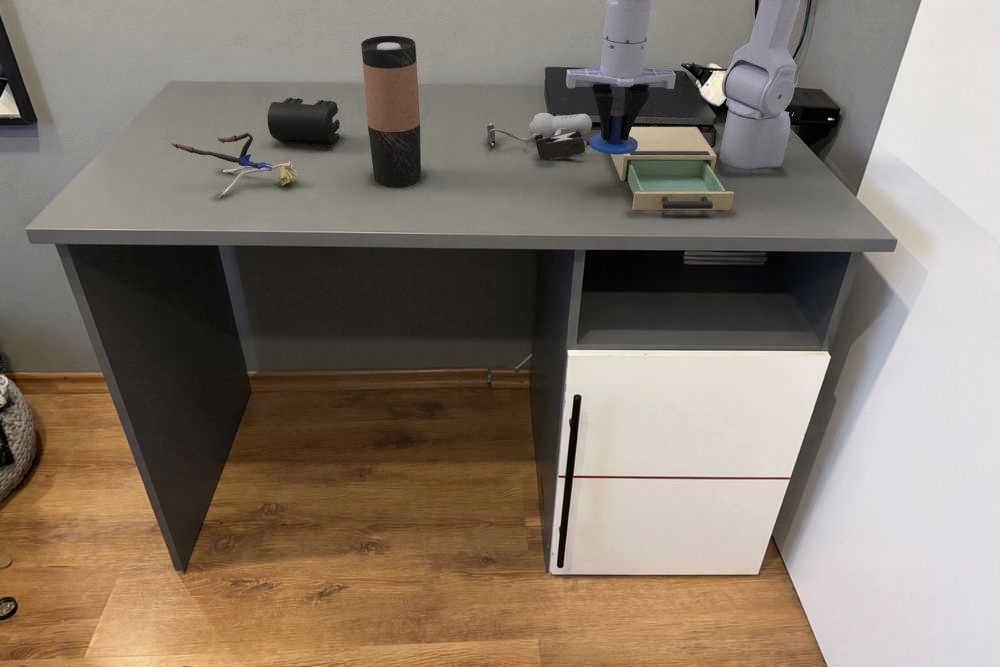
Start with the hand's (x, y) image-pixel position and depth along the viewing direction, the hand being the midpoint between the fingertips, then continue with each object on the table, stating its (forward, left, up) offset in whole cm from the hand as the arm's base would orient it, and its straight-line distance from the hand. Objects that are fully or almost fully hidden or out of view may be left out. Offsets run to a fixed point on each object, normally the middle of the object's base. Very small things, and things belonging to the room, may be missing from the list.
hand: (614, 137), depth 107 cm
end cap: (+47, -20, -9) cm, 52 cm away
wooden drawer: (-10, +2, -9) cm, 13 cm away
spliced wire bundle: (+53, -3, -9) cm, 54 cm away
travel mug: (+31, -6, -9) cm, 33 cm away
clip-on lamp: (+9, -17, -9) cm, 22 cm away
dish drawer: (-10, -9, -9) cm, 16 cm away
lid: (0, 0, -1) cm, 1 cm away
